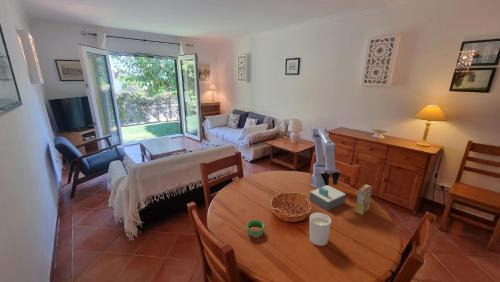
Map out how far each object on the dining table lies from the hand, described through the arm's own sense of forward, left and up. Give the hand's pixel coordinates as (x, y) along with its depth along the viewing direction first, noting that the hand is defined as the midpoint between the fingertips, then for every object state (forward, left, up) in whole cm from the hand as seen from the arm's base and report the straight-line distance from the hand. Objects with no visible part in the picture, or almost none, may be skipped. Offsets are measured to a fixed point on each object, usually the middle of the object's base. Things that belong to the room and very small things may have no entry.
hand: (330, 185), depth 130 cm
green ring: (-3, -53, -13) cm, 54 cm away
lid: (-3, +1, -8) cm, 8 cm away
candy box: (+15, +10, -13) cm, 23 cm away
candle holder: (+18, -29, -13) cm, 37 cm away
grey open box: (-3, +1, -13) cm, 13 cm away
